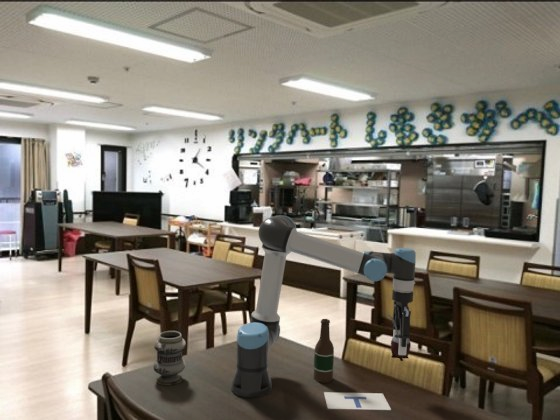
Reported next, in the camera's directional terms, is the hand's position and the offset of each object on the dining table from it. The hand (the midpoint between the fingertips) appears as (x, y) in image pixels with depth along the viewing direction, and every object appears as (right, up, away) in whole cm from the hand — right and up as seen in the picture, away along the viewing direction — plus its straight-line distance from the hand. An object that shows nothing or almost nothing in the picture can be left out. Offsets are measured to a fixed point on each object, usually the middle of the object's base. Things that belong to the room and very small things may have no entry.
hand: (399, 350), depth 169 cm
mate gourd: (0, -3, 0) cm, 3 cm away
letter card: (-17, -16, -6) cm, 24 cm away
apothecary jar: (-87, -13, +6) cm, 89 cm away
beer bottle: (-27, -15, +11) cm, 33 cm away
